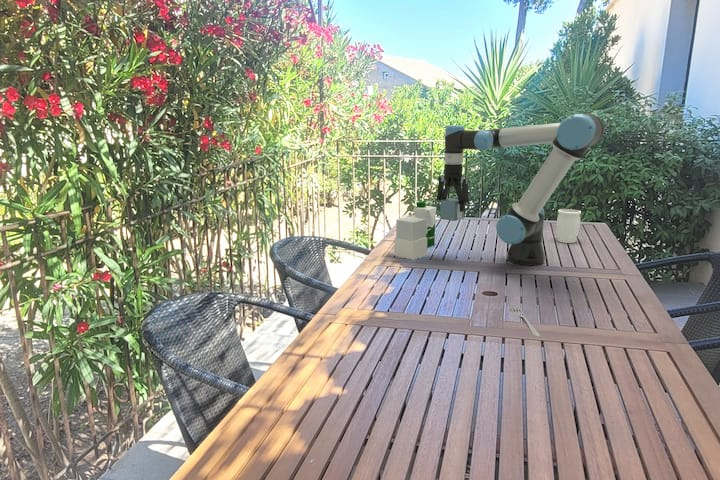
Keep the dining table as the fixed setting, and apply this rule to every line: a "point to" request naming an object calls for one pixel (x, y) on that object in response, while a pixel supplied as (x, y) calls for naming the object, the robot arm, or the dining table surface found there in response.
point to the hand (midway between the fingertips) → (451, 217)
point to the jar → (568, 225)
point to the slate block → (449, 209)
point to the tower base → (410, 248)
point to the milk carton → (427, 220)
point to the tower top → (411, 228)
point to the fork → (525, 320)
